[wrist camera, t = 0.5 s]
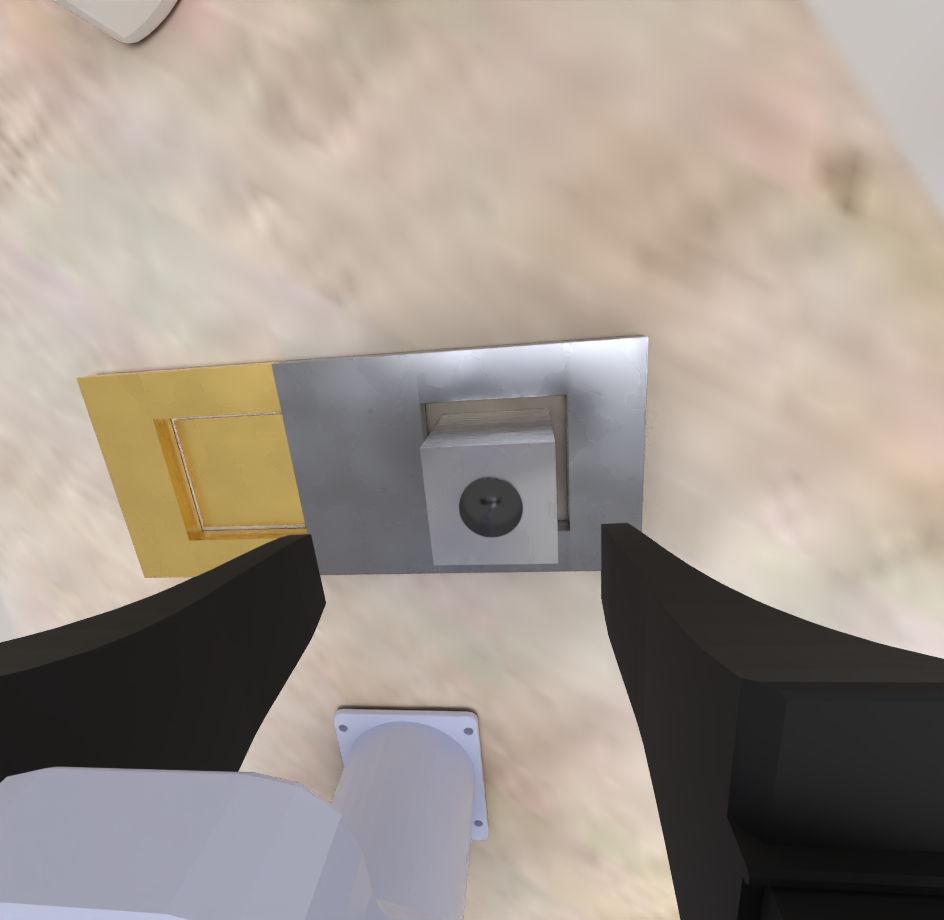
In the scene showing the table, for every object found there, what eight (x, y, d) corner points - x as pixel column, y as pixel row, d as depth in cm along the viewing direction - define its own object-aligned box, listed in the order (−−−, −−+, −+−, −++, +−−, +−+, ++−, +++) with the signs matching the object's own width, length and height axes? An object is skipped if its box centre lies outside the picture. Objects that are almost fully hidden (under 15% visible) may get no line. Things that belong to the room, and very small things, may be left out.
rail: (634, 558, 22) (639, 569, 21) (159, 567, 25) (144, 577, 24) (642, 334, 19) (648, 337, 18) (95, 374, 22) (76, 378, 21)
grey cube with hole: (550, 505, 22) (558, 565, 17) (453, 508, 22) (433, 567, 17) (547, 408, 20) (555, 442, 15) (443, 414, 21) (419, 449, 16)
